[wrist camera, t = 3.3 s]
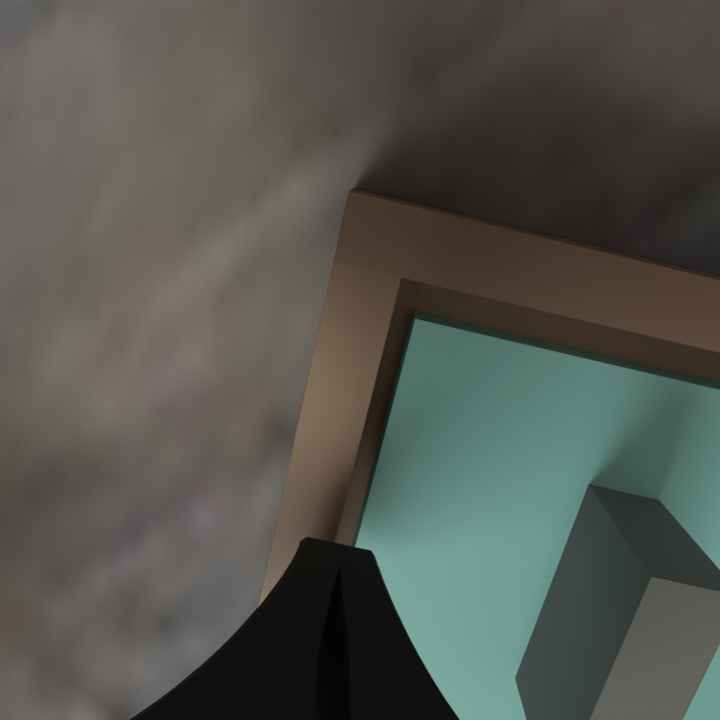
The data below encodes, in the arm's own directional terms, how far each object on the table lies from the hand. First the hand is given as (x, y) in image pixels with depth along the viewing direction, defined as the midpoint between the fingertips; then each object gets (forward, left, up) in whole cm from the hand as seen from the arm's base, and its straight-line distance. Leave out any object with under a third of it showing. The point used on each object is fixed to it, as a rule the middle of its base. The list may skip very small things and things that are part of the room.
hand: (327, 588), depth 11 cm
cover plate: (0, -5, -2) cm, 6 cm away
